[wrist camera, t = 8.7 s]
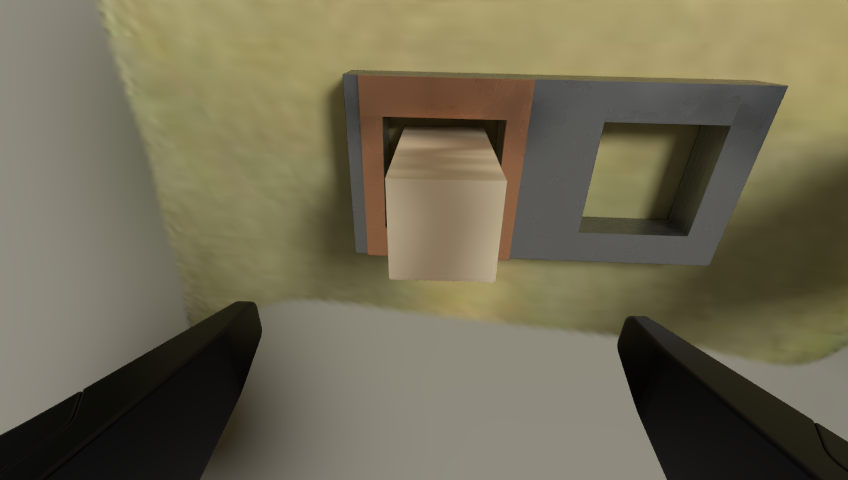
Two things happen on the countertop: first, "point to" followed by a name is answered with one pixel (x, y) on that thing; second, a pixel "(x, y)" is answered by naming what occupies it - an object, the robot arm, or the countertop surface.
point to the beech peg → (444, 205)
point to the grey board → (568, 155)
